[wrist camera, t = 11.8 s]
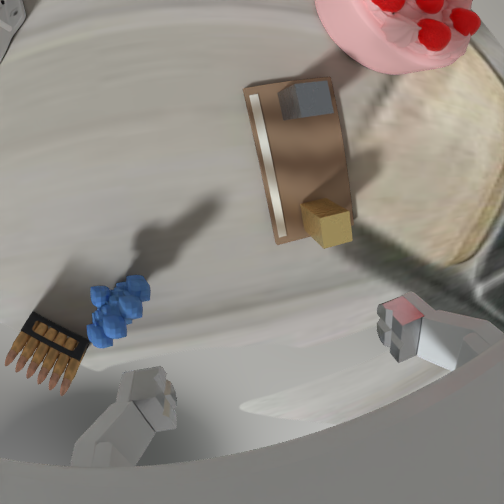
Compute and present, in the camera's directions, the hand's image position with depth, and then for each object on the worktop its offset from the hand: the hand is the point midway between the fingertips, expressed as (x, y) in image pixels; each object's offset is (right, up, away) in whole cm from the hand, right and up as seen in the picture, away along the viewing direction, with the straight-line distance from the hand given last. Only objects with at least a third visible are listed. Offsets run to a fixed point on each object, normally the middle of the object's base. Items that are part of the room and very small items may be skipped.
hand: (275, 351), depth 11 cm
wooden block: (+7, +8, +28) cm, 30 cm away
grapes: (-19, -1, +29) cm, 34 cm away
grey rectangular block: (+4, +21, +24) cm, 32 cm away
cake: (+17, +37, +20) cm, 46 cm away
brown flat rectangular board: (+5, +15, +27) cm, 31 cm away
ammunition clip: (-31, -9, +30) cm, 44 cm away
